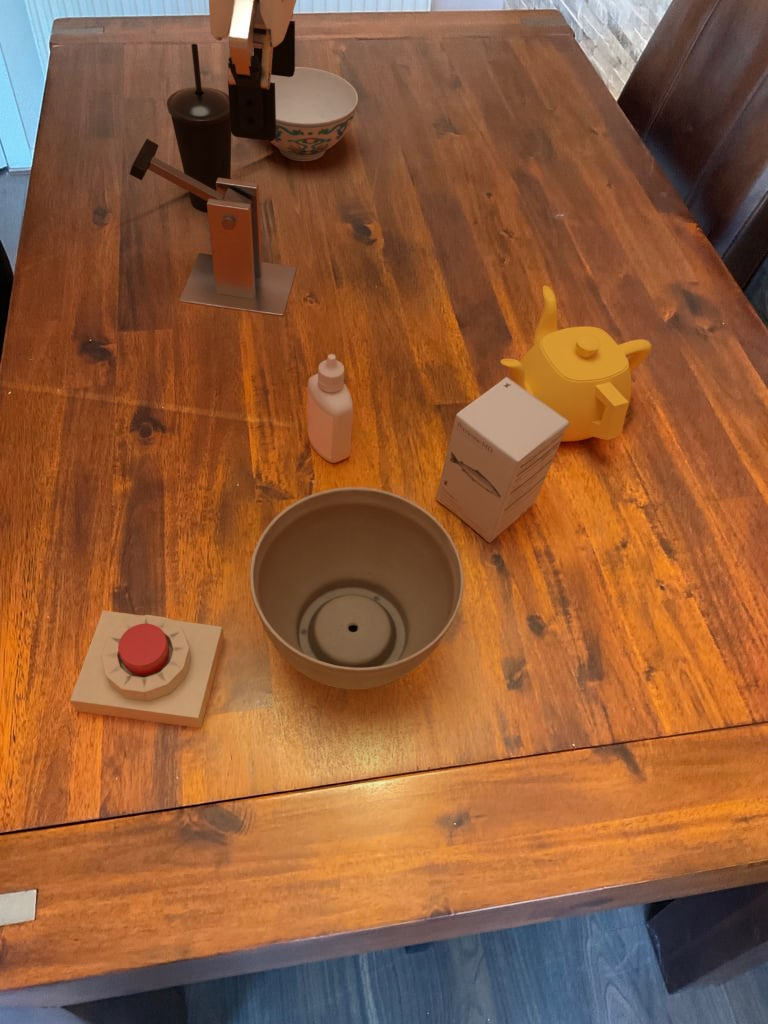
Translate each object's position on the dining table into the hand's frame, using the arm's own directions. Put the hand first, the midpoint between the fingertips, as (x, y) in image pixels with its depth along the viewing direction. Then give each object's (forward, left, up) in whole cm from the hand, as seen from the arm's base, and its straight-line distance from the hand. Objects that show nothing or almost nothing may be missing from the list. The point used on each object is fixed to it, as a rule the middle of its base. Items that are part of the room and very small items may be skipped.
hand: (264, 103), depth 61 cm
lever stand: (-14, +8, -30) cm, 34 cm away
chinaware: (-32, +35, -31) cm, 56 cm away
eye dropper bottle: (+10, -1, -31) cm, 32 cm away
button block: (+18, -29, -30) cm, 46 cm away
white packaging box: (+26, +5, -31) cm, 40 cm away
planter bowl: (+27, -15, -31) cm, 44 cm away
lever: (-18, +5, -19) cm, 26 cm away
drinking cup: (-29, +16, -31) cm, 45 cm away
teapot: (+23, +21, -31) cm, 43 cm away
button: (+18, -29, -27) cm, 44 cm away
